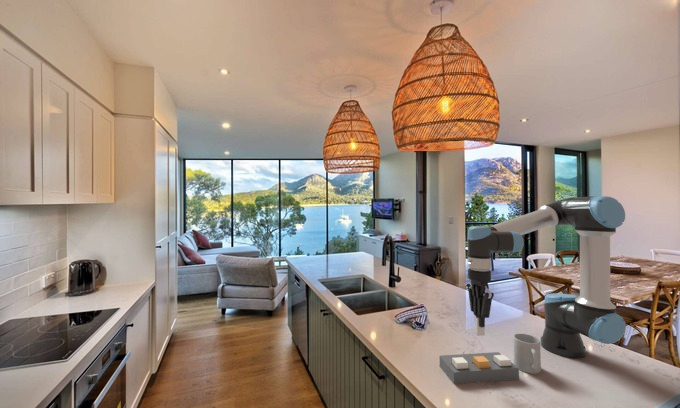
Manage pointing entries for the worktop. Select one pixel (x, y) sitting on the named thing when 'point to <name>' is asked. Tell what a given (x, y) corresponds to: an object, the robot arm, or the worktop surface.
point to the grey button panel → (467, 372)
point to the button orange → (481, 362)
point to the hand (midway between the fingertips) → (479, 334)
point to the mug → (527, 353)
